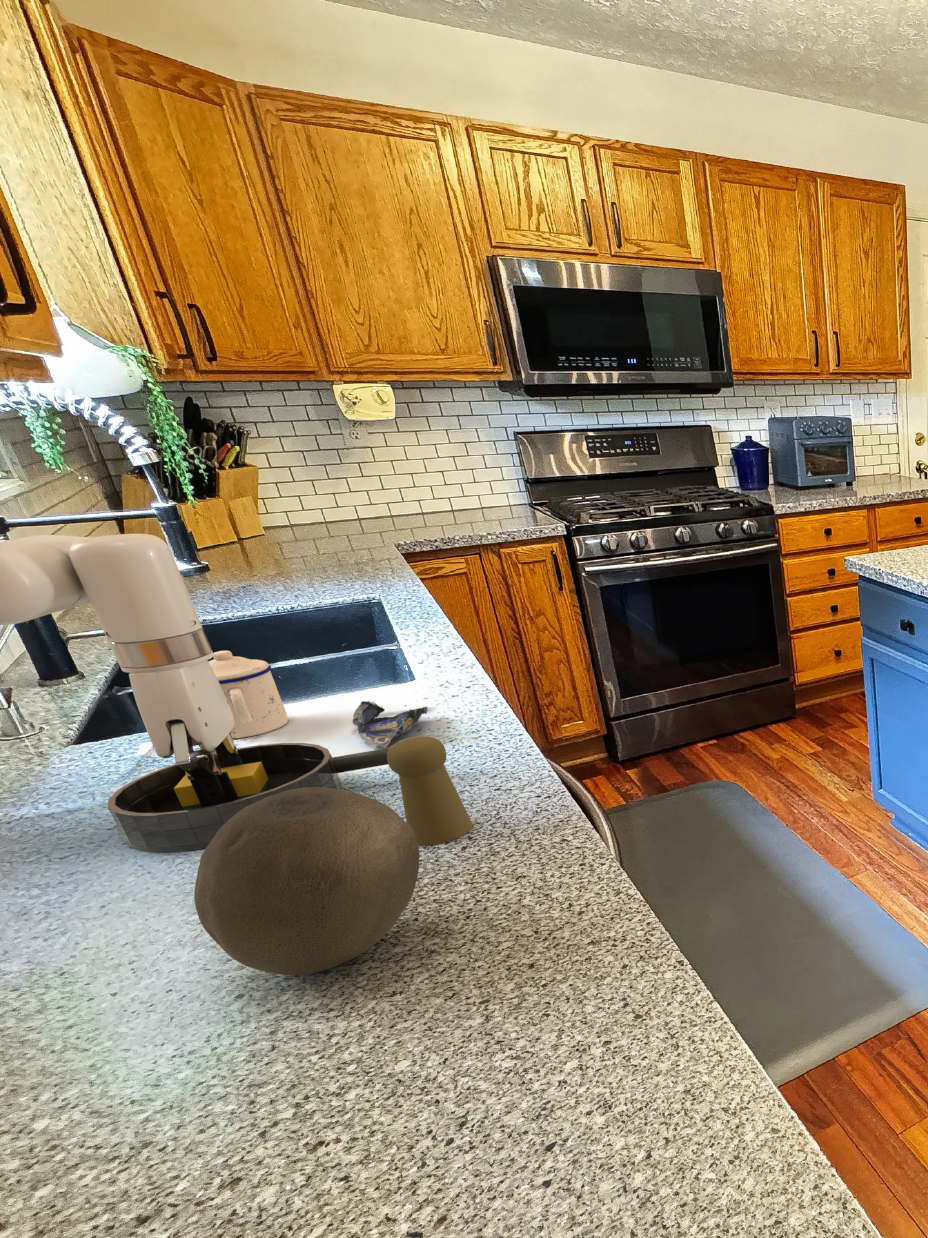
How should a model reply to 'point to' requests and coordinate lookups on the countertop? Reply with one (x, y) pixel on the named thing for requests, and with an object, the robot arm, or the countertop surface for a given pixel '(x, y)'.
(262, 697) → the teacup with lid
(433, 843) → the cork
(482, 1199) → the countertop surface
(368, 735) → the snack package
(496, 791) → the countertop surface
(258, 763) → the sponge
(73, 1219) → the countertop surface
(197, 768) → the robot arm
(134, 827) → the pan
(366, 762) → the pan handle
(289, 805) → the cantaloupe
